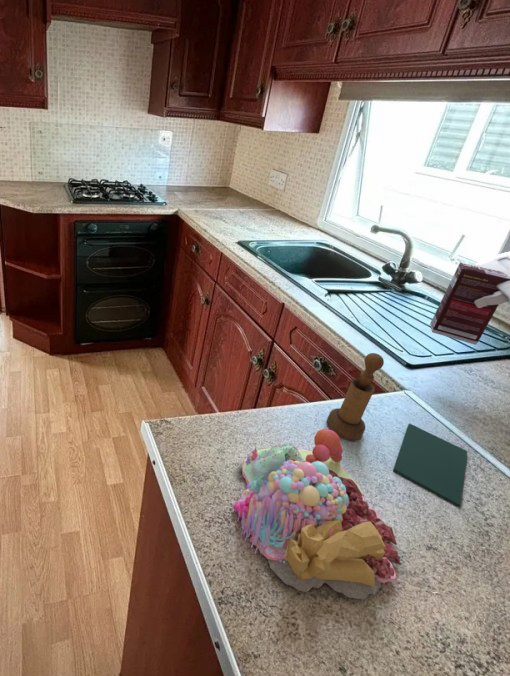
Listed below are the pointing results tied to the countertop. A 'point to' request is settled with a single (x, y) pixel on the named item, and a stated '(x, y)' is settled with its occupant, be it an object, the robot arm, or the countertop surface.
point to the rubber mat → (432, 464)
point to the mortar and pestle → (355, 402)
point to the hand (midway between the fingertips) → (468, 297)
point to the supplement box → (467, 303)
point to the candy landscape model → (315, 519)
